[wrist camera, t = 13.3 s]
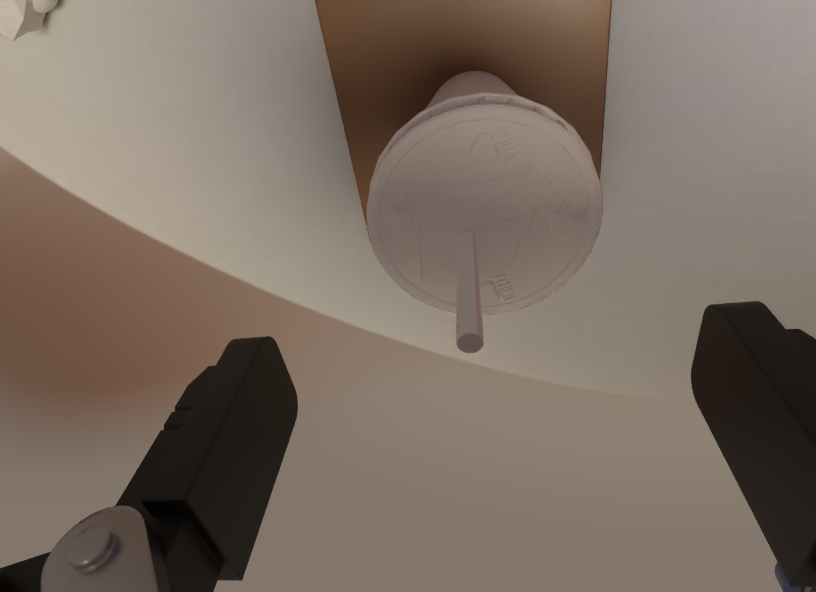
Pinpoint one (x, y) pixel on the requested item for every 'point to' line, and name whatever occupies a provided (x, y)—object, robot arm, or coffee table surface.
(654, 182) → the coffee table surface
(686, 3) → the coffee table surface
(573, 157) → the smoothie
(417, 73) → the coaster
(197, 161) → the coffee table surface
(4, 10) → the toy car
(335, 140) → the coffee table surface
